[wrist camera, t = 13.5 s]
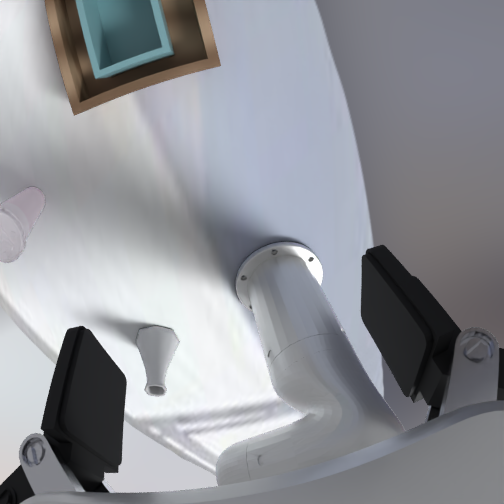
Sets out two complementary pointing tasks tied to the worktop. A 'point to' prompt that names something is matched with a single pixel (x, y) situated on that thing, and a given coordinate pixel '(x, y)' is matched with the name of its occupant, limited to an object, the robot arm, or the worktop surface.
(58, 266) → the worktop surface
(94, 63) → the small crate
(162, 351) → the flask
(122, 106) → the worktop surface
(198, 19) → the big crate
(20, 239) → the smoothie
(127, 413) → the worktop surface
